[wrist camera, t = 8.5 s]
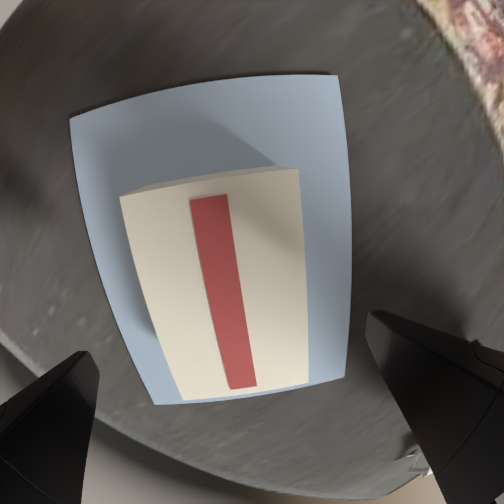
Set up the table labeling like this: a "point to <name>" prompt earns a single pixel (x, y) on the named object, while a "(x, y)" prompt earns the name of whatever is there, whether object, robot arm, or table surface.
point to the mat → (215, 161)
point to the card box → (224, 278)
